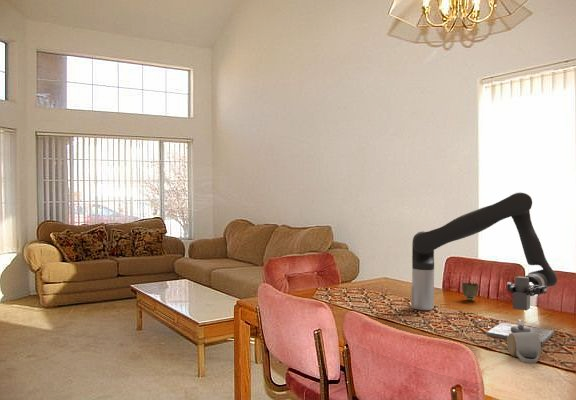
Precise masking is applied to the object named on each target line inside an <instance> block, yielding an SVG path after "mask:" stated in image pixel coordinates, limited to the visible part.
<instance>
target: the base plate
mask: <svg viewBox="0 0 576 400" xmlns="http://www.w3.org/2000/svg"><path fill="white" fill-rule="evenodd" d="M524 321H525V320H523V319H517V324H513V323H508V322H500V323H498V324H497V325H496V326H494V327H493V328H490V329H489V330H488V331H486V336H487V337H494V338H498V339H505V340H507V337H508V335H509V334H511V333H520V332H536V333H537V335H538V337H539V339H540V343H541V346H543V345H544V344H545V343H547V341H548V340H550V338H551V337H553V335H555V330H551V329H547V328H546V329H545V328H539V327H532V326H526V325H524V324H525V322H524Z"/></svg>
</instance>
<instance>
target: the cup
mask: <svg viewBox="0 0 576 400" xmlns="http://www.w3.org/2000/svg"><path fill="white" fill-rule="evenodd" d="M461 288H462V289H461V290H462V294H463V296H464V297H465V299H466V301H468V302H472V301H473V302H474V300H475V297H477V296H478V292H479V284H478V283H477V282H475V283H474V282H464V281H463V282H461Z"/></svg>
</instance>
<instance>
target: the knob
mask: <svg viewBox="0 0 576 400" xmlns="http://www.w3.org/2000/svg"><path fill="white" fill-rule="evenodd" d="M514 284H515V291H514V292H513V293H512V309H514V310H520V311H528V310H529V309H531V296H530V295H527V294H526V292H527V288H529V278H528V277H524V276H520V275H519V276H514Z"/></svg>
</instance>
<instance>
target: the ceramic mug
mask: <svg viewBox="0 0 576 400" xmlns="http://www.w3.org/2000/svg"><path fill="white" fill-rule="evenodd" d="M506 347H507V350H508V353H509V355H511V356H512V357H515V358H518V359H519V360H520V361H522V362H524V363H526V364H535V363H537V362H538V361H539V359H540V357H541V352H542V345H541V343H540V339H539V337H538V335H537V333H536V332H520V333H511V334H509V335H508V337H507V339H506Z"/></svg>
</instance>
